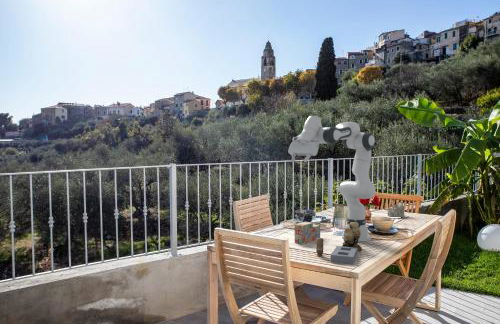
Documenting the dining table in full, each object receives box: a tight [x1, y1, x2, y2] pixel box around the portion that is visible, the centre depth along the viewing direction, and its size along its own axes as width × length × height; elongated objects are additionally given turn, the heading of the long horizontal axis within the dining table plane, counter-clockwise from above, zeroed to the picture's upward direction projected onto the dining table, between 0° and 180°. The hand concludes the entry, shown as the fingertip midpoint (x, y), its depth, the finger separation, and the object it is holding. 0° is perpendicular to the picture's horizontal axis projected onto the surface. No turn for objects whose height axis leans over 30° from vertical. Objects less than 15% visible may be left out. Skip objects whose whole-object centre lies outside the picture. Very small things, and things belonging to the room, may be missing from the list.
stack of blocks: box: [294, 221, 321, 245], centre depth 264 cm, size 21×6×12 cm, turn 138°
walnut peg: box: [315, 237, 324, 258], centre depth 228 cm, size 4×4×10 cm
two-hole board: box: [330, 245, 359, 265], centre depth 223 cm, size 20×12×4 cm, turn 158°
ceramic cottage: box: [386, 200, 406, 218], centre depth 347 cm, size 16×16×15 cm
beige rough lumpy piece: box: [341, 222, 363, 253], centre depth 241 cm, size 18×12×17 cm, turn 146°
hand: (298, 161), depth 228 cm, fingers open, 8 cm apart
